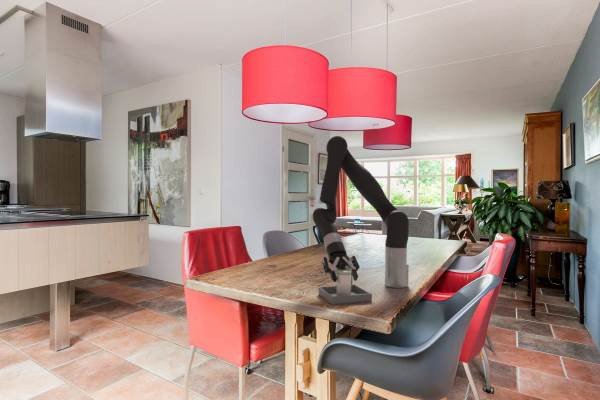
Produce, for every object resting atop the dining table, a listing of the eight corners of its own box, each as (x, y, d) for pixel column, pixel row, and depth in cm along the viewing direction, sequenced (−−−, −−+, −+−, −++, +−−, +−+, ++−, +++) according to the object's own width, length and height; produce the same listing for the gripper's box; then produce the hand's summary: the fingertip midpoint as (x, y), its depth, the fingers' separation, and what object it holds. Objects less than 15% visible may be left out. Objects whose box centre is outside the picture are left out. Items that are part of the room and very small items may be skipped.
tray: (354, 291, 142) (354, 284, 142) (371, 301, 129) (371, 293, 129) (318, 294, 138) (318, 287, 138) (332, 305, 124) (332, 297, 124)
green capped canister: (347, 294, 137) (347, 269, 137) (353, 298, 131) (354, 272, 131) (333, 295, 135) (334, 269, 135) (339, 299, 130) (340, 272, 130)
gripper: (320, 241, 138) (331, 276, 127) (353, 240, 142) (366, 273, 132) (316, 252, 143) (326, 286, 132) (347, 251, 148) (359, 284, 137)
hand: (346, 280), depth 132 cm, fingers open, 8 cm apart
